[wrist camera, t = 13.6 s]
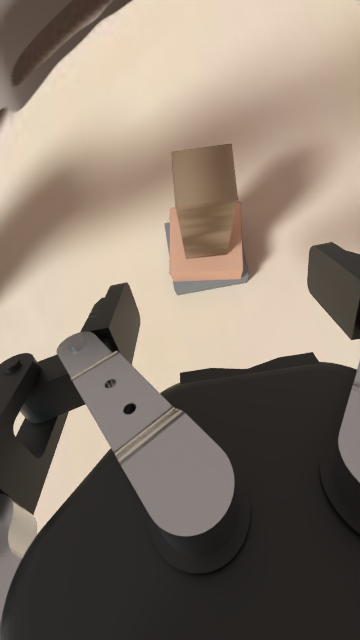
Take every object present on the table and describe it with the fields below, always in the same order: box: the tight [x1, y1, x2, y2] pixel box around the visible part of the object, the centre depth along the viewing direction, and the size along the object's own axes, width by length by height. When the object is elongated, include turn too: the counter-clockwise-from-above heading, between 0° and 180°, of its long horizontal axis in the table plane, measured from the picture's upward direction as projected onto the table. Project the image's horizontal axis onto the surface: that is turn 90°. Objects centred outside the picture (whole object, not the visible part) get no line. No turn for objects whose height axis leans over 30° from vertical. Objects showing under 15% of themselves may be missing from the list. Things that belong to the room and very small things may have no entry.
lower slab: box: [165, 223, 249, 295], centre depth 34 cm, size 9×9×3 cm
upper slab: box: [169, 202, 243, 282], centre depth 31 cm, size 8×8×3 cm
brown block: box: [172, 144, 238, 259], centre depth 24 cm, size 4×4×10 cm
